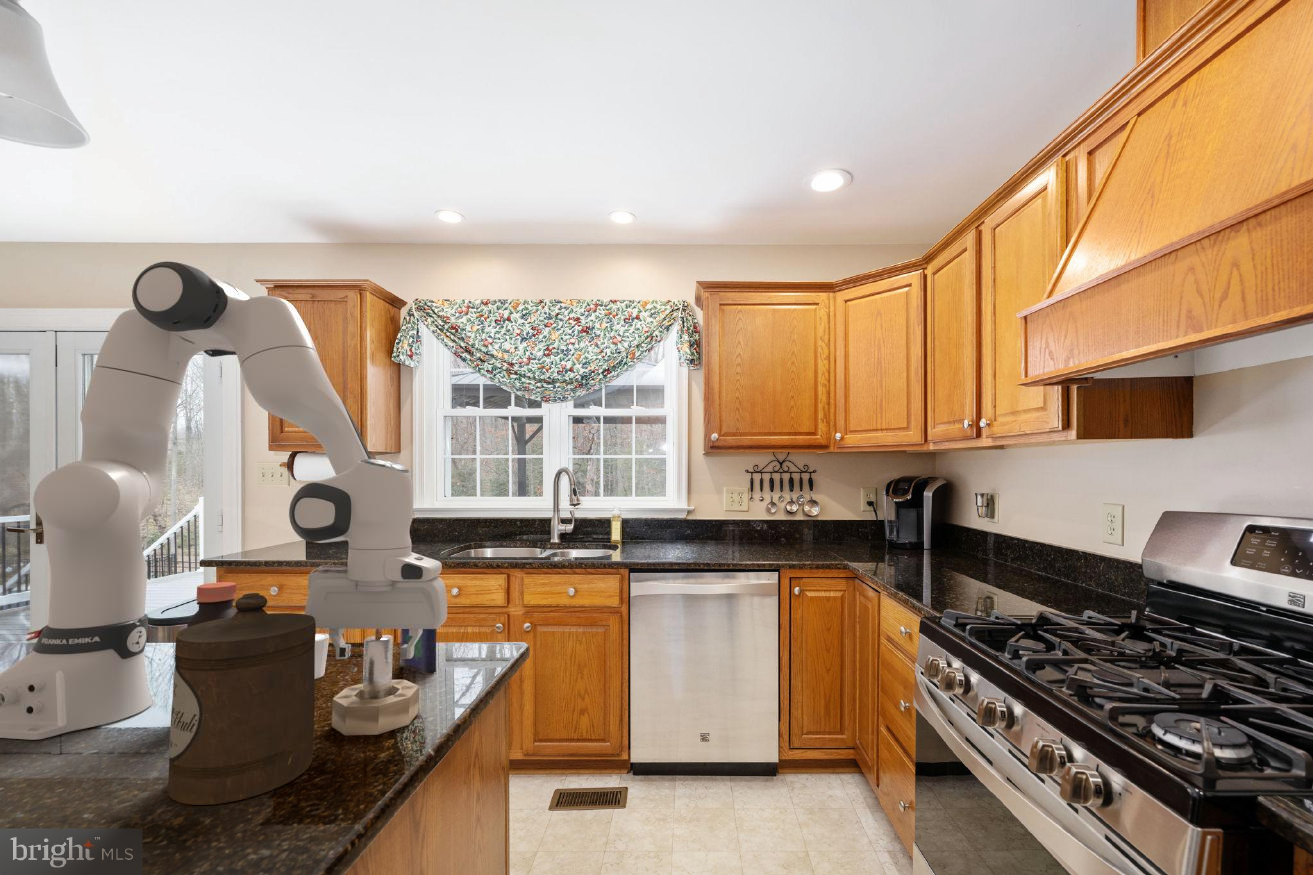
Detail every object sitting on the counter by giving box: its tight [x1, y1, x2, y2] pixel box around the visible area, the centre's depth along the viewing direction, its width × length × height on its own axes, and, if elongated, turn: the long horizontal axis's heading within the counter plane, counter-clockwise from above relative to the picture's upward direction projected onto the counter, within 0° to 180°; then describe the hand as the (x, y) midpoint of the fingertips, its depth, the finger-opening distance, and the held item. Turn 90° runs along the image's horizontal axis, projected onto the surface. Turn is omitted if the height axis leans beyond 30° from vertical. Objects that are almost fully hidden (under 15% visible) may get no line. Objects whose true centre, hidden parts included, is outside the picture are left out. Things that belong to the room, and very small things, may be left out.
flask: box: [399, 629, 437, 675], centre depth 116 cm, size 9×3×11 cm, turn 58°
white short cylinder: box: [315, 632, 330, 680], centre depth 111 cm, size 7×7×7 cm
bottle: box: [186, 581, 238, 628], centre depth 92 cm, size 7×7×20 cm
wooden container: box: [167, 592, 317, 806], centre depth 75 cm, size 15×15×22 cm
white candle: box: [362, 629, 394, 700], centre depth 92 cm, size 4×4×15 cm
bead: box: [331, 679, 420, 736], centre depth 92 cm, size 11×11×4 cm
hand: (375, 657), depth 92 cm, fingers open, 8 cm apart
